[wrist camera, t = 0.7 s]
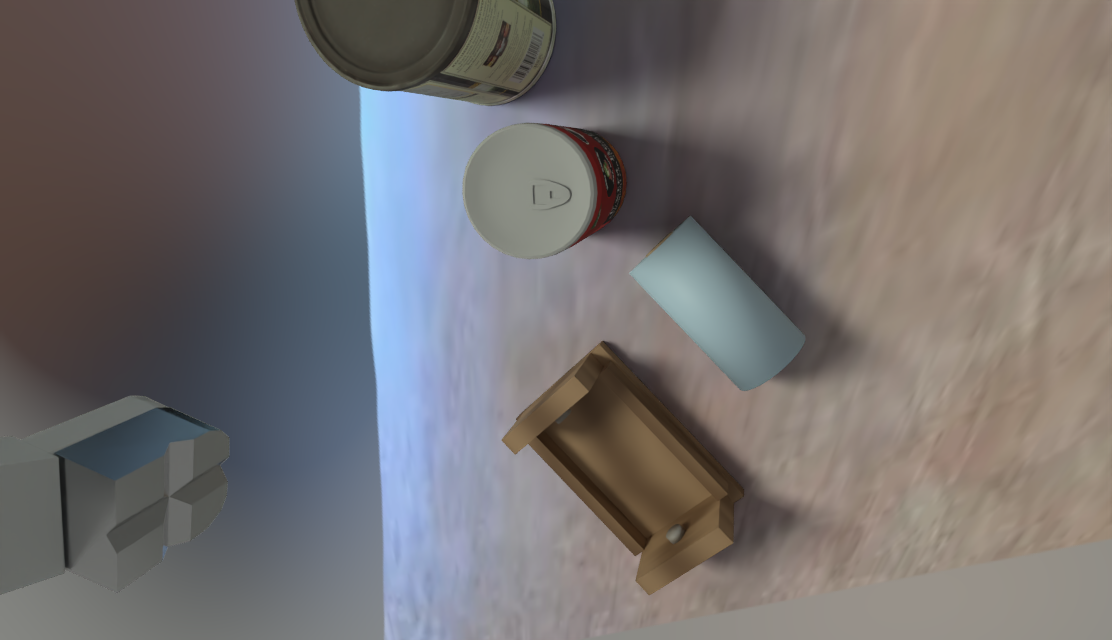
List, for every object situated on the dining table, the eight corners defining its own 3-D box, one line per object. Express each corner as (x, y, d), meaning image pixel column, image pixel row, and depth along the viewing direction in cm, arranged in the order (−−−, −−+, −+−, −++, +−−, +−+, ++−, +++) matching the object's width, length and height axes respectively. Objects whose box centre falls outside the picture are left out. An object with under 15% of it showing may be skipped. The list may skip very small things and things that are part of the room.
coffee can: (423, -51, 42) (282, -139, 29) (562, -52, 39) (476, -150, 26) (422, 103, 45) (295, 85, 32) (551, 111, 43) (470, 95, 30)
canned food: (640, 219, 43) (610, 241, 33) (540, 246, 46) (483, 274, 35) (613, 112, 41) (573, 101, 31) (511, 147, 44) (443, 147, 34)
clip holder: (602, 340, 46) (583, 367, 41) (743, 489, 46) (744, 535, 41) (519, 414, 50) (492, 447, 44) (650, 551, 50) (639, 601, 44)
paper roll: (693, 209, 42) (684, 221, 37) (803, 324, 42) (809, 353, 37) (637, 262, 44) (620, 280, 39) (741, 371, 44) (737, 403, 39)
